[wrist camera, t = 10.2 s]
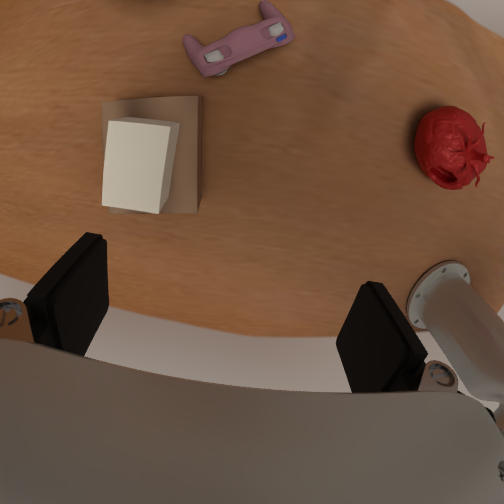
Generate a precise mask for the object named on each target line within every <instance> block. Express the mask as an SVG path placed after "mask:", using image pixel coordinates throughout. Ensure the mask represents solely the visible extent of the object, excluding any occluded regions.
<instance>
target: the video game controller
mask: <svg viewBox="0 0 504 504" xmlns="http://www.w3.org/2000/svg"><path fill="white" fill-rule="evenodd" d="M259 7H260V10H261V13H262V16H263V18H264V20H263V21H261V22H258V23H256V24H254V25H250V26H244V27H240V28H237V29H235V30H233V31H232V32H230V33H229V34H228V35H226V36H225V37H224V38H222V39H220V40H217V41H215V42H213V43H211V44H209V45H207V46H205V47H204V46H202V45H201V44H200V43H199V42H198V41H197V40H196V39H195V37H193V36H191V35H188V34H186V35H184V37H183V44H184V47H185V49H186V52H187V54H188V56H189V58H190V60H191V61H192V62H193V63H194V65H195V66H196V67H197V68H198V70H199V71H200V73H201V74H202V76H204V77H207V76H212V75H218V76H219V75H223V74H224V73H225V72H226V71H227V68H229V67H230V66H232V65H233V64H234V63H237V62H239V61H242V60H244V59H246V58H249V57H251V56H253V55H256V54H258V53H260V52H262V51H264V50H266V49H270V48H275V47H279V46H282V45H285V44H287V43H289V42H291V41H292V40H293V39H294V38H295V36H294V33H293V30H292V27H291V25H290V23H289V22H288V21H287V19H286V18H285V17H284V16H283V15H282V13H281V12H280V11H279V10H278V9H277V8H276V7H275V6H274V5H273V4H271V3H270V2H268V1H266V0H263V1H261V2H260V4H259Z"/></svg>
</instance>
